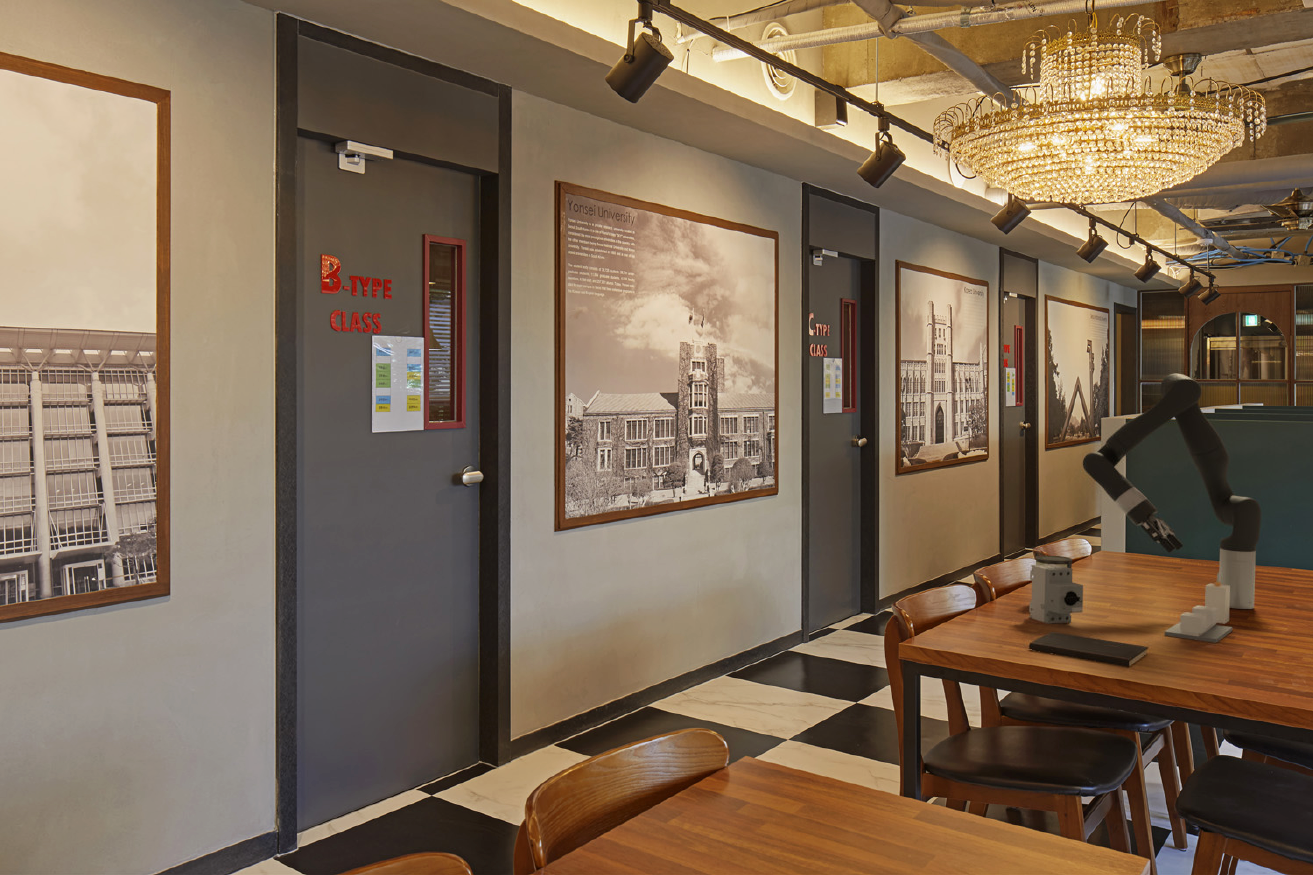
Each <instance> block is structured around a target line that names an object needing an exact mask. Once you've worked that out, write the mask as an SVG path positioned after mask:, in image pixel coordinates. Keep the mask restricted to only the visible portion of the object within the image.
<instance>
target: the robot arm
mask: <svg viewBox="0 0 1313 875" xmlns="http://www.w3.org/2000/svg"><path fill="white" fill-rule="evenodd" d="M1159 394H1160V396H1161V399H1160V400H1159V401H1158V402H1156V404H1154V405H1153V406H1152V407H1151V408H1150V409H1148V410H1146V411H1144V412H1143V413H1141V414H1140V415H1137V416H1136V417H1134V418H1132V419H1131V420H1129V421H1127V422H1126V423H1125V424H1123V425H1122V426H1120V428H1118V429H1117V430H1116V431H1115V432H1114V433H1112V435H1110V436H1109V437H1108V439H1107V440H1106V442H1105V444H1104V445H1103V446H1102V447H1101V448H1100V449H1098V450H1097V451H1094V452H1089V453H1087V454H1086V455H1085V456H1084V458H1083V460H1082V468H1083V470H1084V471H1085V472H1086V473H1087V474H1088V475H1089V476H1090V477H1091V478H1092V479H1093V480H1094V481H1096V483H1097V484H1098V485H1100V486H1101V488H1102V489H1103V490H1104V492H1105V493H1106V494H1107V495H1108V496H1109V497H1110V499H1111V500H1112V501H1113V502H1115V503H1116V505H1117V506H1118V508H1119V509H1120V511H1121V512H1123V514H1125V516H1126V517H1127V518H1128V519H1129V520H1130V521H1131V523H1133V525H1135V526H1136V527H1138V526H1140V527H1141V529H1142V530H1144V532H1146V533H1147V535H1148V536H1149V537H1150V538H1151V539H1152V541H1153V542H1157V543H1158V544H1160V545H1161V546H1162V547H1163V548H1164V549H1165V550H1166V551H1167V552H1168V553H1172V552H1173V551H1175V550H1176V551H1179V550H1181V549H1182V548H1183V547H1184V544H1183V543H1182V541H1180V540H1179V539H1178V537H1177V536H1176V535H1175V534H1176V533H1175V531H1174V530H1173V528H1171V527H1170V526H1169V525H1168V524H1167V523H1166V522H1165V521H1164V520H1163V518H1161V517H1158V518H1157V517H1156V516H1155V515H1156V514H1157V513H1158V508H1156V506H1154V504H1153V503H1152V502H1151V501H1150V500H1149V499H1148V498H1147V497H1146V496H1145V495H1144V493H1142V492H1141V491H1140V490H1138V489H1137V488H1136V487H1135V486H1134V485H1133V484H1132V483H1131V482H1130V481H1129V480H1128V478H1127V477H1126V476H1124V475H1123V474H1121V473H1120V472H1119V471H1118V469H1117V468H1116V466H1117V465H1118V464H1119V462H1121V460H1122V459H1123V458H1124V457H1126V456H1127V455H1128V454H1129V453H1130V452H1131V451H1133V450H1134V449H1135V448H1136V447H1137V446H1138V445H1140V444H1141V443H1142V442H1143V441H1145V439H1147V438H1148V437H1149V436H1150V435H1151V434H1153V433H1154V432H1155V431H1157V430H1158V429H1159V428H1161V427H1162V426H1164V425H1165V424H1167V423H1169V421H1171V420H1172V419H1175V421H1176V422H1177V426H1178V428H1179V431H1180V433H1181V436H1182V438H1183V442H1184V443H1185V445H1186V448H1187V451H1188V453H1189V455H1190V457H1191V459H1192V461H1193V464H1194V465H1195V467H1196V469H1197V471H1198V473H1199V475H1200V479H1201V480H1202V482H1203V484H1204V487H1205V490H1206V492H1207V496H1208V499H1209V502H1210V504H1211V507H1212V510H1213V512H1214V514H1215V517H1216V519H1217V521H1218V522H1220V523H1222V525H1225V526H1229V527H1232V532H1231V534H1230V535H1229V536H1227V537H1223V538H1221V539H1220V542H1219V569H1218V570H1219V572H1217V573H1216V581H1217V582H1221V585H1229V586H1230V602H1229V609H1230V608H1231V609H1239V610H1251V609H1255V592H1256V591H1255V588H1256V585H1255V583H1256V580H1255V579H1256V555H1257V553H1256V552H1257V546H1258V543H1259V540H1260V533H1261V523H1262V522H1261V521H1262V520H1261V519H1262V509H1261V507H1260V504H1259V502H1258V501H1257V500H1255V499H1254V498H1252V497H1248V496H1239V495H1235V493H1234V492H1233V490H1232V488H1231V486H1230V484H1229V481H1228V478H1227V475H1228V470H1229V464H1230V457H1229V453H1228V451H1227V448H1226V446H1225V444H1224V442H1223V440H1222V439H1221V435H1219V433H1218V432H1217V430H1216V429H1215V428H1214V426H1213V425H1212V423H1211V422H1210V421H1209V420H1208V418H1207V417H1206V416H1205V415H1204V413H1203V412H1202V410H1201V407H1200V405H1199V403H1198V402H1199V400H1200V399H1201V396H1202V387H1201V385H1200V384H1199V383H1198V381H1196V380H1195V379H1193V378H1191V377H1189V376H1187V375H1185V374H1182V373H1171V374H1168V375H1166V376H1165V377H1164V378H1163V379H1162V380H1161V381H1160V386H1159Z"/></svg>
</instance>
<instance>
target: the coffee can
mask: <svg viewBox="0 0 1313 875" xmlns="http://www.w3.org/2000/svg"><path fill="white" fill-rule="evenodd" d="M1045 564H1054V565H1059V566H1063V567H1067V568H1071V569H1072V570H1073V568H1072V564H1073V559H1072V558H1071V557H1068V556H1061V555H1037V556H1035V565H1045Z"/></svg>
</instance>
